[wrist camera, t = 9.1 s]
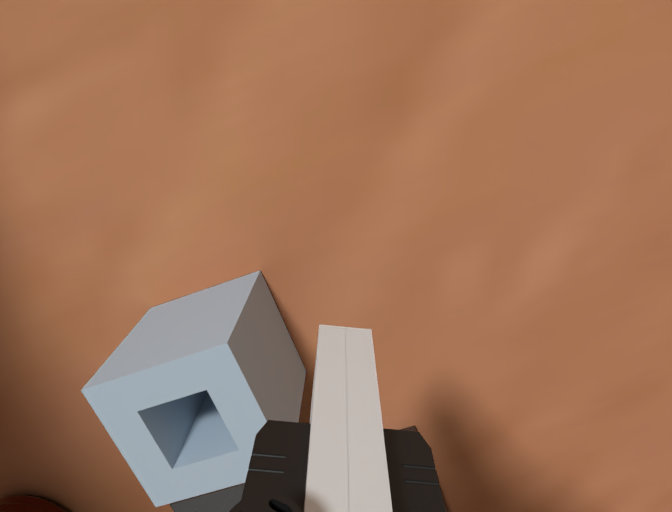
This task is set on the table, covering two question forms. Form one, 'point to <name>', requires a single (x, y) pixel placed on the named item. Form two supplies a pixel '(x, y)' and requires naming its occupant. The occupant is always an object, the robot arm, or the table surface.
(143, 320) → the hollow square cube
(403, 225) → the table surface
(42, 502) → the mug
